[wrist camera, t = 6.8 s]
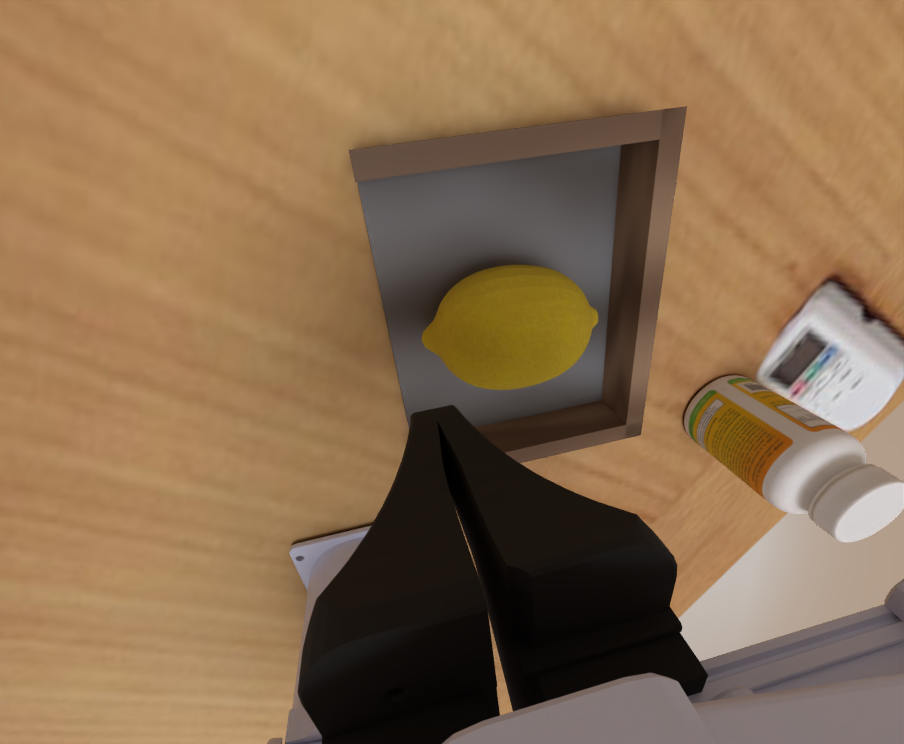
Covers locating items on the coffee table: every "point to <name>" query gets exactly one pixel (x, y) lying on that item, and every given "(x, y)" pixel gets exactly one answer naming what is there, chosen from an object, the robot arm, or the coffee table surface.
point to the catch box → (529, 261)
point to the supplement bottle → (794, 458)
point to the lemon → (511, 327)
